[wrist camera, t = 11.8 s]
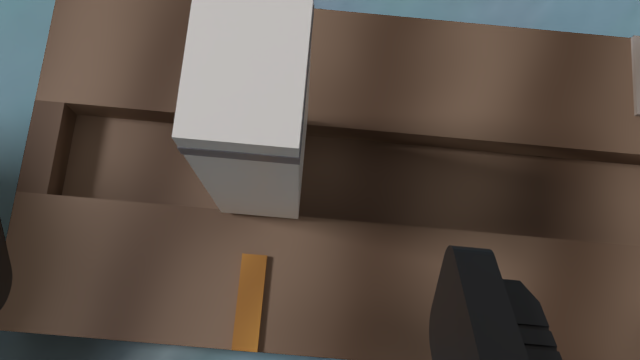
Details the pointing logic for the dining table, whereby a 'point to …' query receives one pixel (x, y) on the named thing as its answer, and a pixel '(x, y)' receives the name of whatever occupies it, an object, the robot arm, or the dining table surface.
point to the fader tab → (246, 102)
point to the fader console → (332, 189)
